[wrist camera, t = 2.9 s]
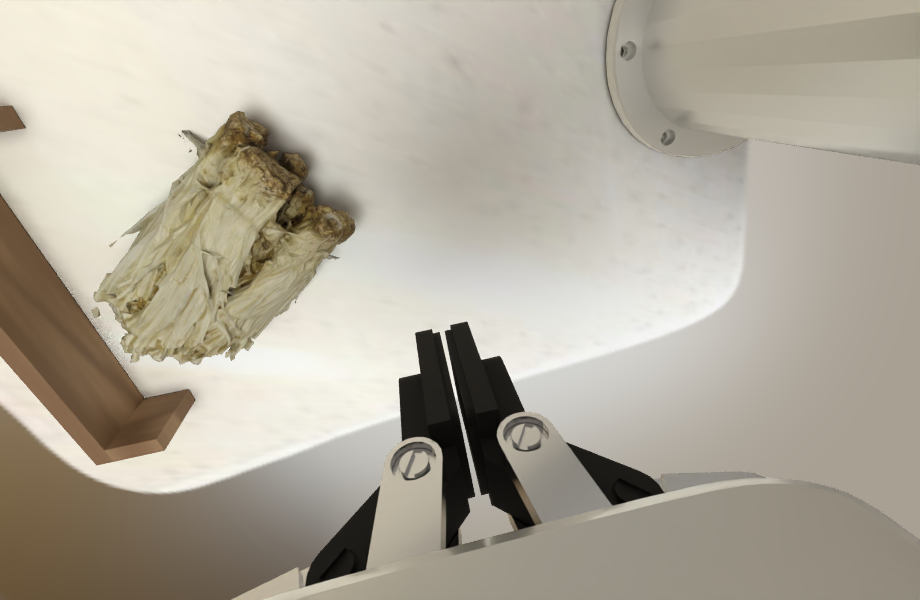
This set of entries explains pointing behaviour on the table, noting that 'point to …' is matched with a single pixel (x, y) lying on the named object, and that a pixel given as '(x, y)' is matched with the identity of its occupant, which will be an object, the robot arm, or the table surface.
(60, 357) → the stand
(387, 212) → the table surface
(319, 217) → the beige fibrous lump
